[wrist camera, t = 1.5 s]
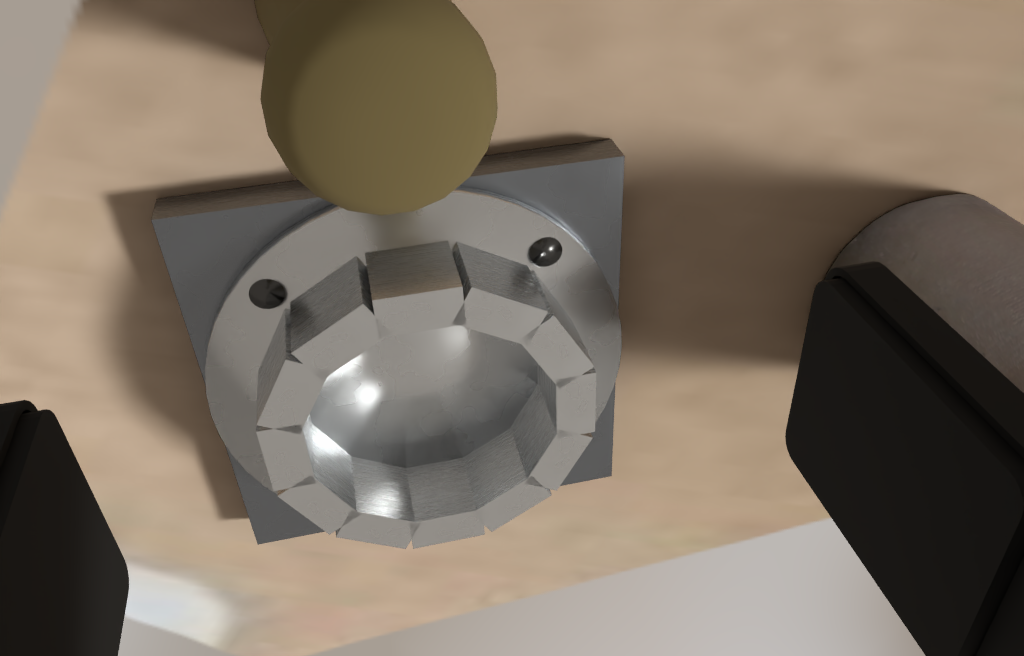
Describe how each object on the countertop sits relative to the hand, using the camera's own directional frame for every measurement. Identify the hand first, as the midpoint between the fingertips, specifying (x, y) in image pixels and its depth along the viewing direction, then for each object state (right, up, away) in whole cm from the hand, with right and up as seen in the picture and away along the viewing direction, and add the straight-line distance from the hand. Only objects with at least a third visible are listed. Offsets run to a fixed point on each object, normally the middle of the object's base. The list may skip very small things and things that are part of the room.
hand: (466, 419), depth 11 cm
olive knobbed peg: (-4, +12, +16) cm, 20 cm away
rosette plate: (-3, 0, +24) cm, 24 cm away
